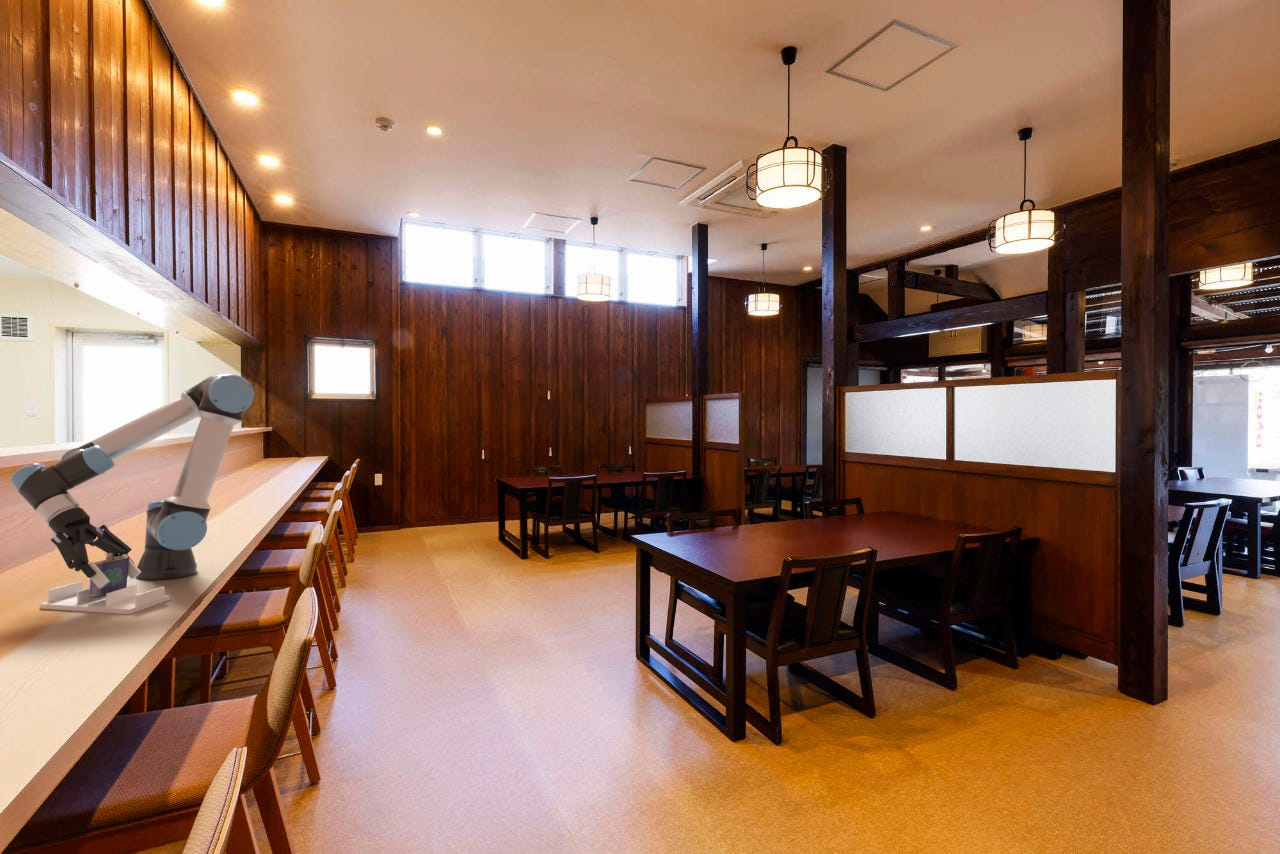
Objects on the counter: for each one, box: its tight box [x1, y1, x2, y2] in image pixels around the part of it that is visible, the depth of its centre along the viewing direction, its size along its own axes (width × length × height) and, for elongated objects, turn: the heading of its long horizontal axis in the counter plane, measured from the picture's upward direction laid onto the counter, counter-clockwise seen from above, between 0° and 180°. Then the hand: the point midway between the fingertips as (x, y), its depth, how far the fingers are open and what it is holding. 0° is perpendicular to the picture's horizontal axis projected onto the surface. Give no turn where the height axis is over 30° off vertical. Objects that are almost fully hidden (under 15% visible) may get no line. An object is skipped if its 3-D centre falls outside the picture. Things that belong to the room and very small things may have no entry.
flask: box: [89, 553, 130, 599], centre depth 159 cm, size 9×3×11 cm, turn 172°
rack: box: [39, 580, 171, 615], centre depth 159 cm, size 13×23×4 cm, turn 90°
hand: (121, 580), depth 159 cm, fingers closed on flask, 9 cm apart
